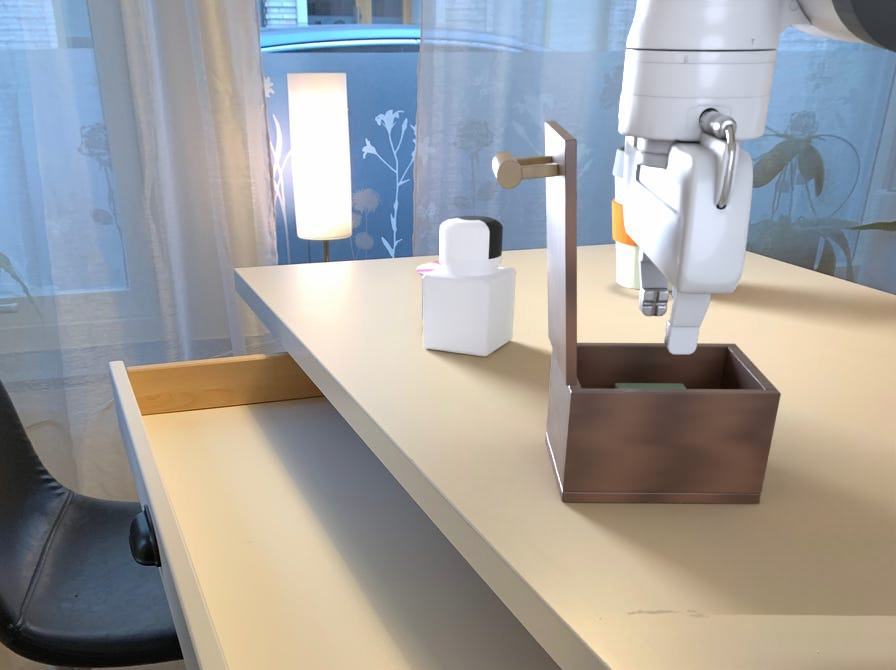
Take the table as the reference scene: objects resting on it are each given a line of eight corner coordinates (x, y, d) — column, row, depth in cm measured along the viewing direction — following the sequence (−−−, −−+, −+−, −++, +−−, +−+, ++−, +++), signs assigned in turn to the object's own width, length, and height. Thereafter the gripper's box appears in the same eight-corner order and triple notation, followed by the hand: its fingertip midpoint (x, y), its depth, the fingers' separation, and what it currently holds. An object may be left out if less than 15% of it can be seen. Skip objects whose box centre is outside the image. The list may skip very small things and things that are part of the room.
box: (718, 443, 80) (735, 343, 76) (759, 504, 70) (781, 393, 66) (545, 441, 80) (552, 342, 76) (561, 502, 70) (571, 391, 66)
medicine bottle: (450, 331, 107) (452, 209, 101) (513, 340, 104) (520, 215, 98) (420, 348, 102) (421, 220, 95) (486, 358, 99) (491, 227, 93)
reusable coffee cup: (684, 299, 119) (704, 159, 111) (585, 286, 125) (598, 151, 117) (718, 279, 128) (738, 148, 120) (624, 267, 134) (638, 141, 126)
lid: (555, 120, 68) (488, 126, 68) (576, 139, 58) (498, 146, 58) (557, 336, 76) (497, 341, 76) (577, 385, 66) (507, 390, 66)
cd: (472, 257, 138) (472, 257, 138) (519, 273, 130) (519, 272, 130) (400, 266, 134) (400, 265, 133) (444, 283, 125) (444, 282, 125)
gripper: (797, 119, 53) (752, 378, 61) (707, 92, 71) (680, 296, 78) (677, 119, 53) (646, 378, 61) (616, 92, 71) (597, 296, 78)
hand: (664, 331), depth 70 cm, fingers open, 8 cm apart
